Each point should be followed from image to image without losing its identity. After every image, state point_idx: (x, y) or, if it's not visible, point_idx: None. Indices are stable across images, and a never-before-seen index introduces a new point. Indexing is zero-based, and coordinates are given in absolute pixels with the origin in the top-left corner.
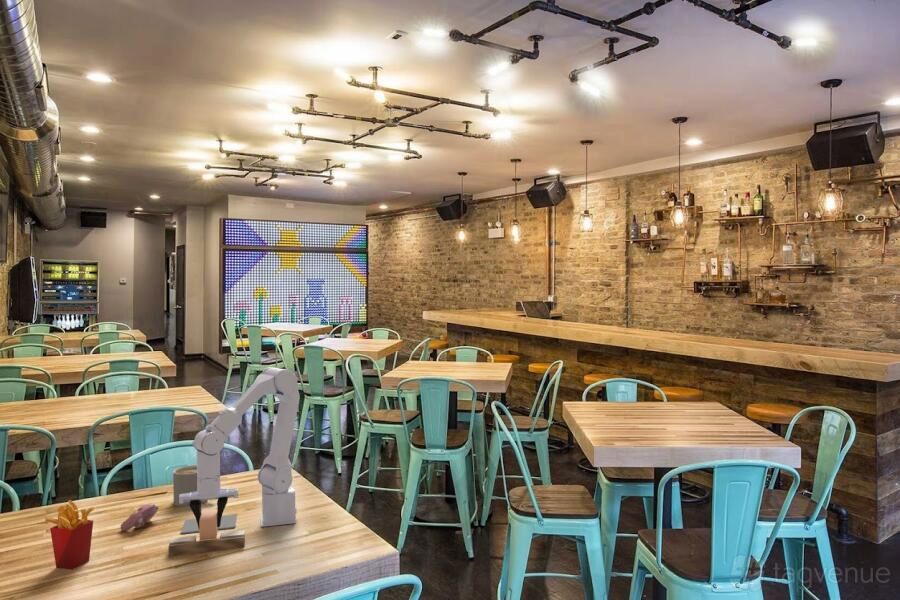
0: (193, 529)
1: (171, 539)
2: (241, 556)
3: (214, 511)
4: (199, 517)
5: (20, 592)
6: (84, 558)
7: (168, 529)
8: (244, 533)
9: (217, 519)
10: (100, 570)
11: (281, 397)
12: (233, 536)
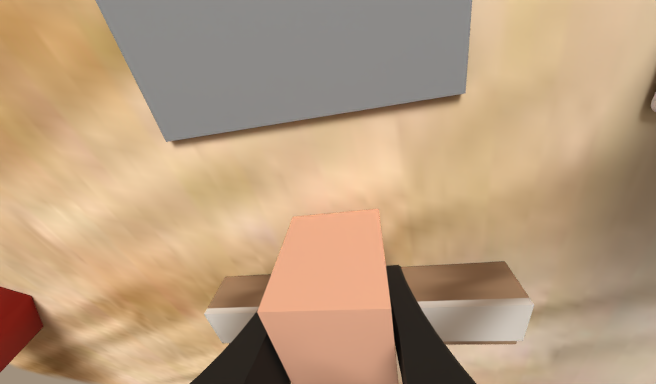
0: (210, 101)
1: (212, 322)
2: (478, 354)
3: (368, 346)
4: (288, 382)
5: (45, 374)
6: (20, 319)
7: (50, 48)
8: (524, 324)
9: (396, 350)
10: (115, 340)
11: None
12: (468, 336)
